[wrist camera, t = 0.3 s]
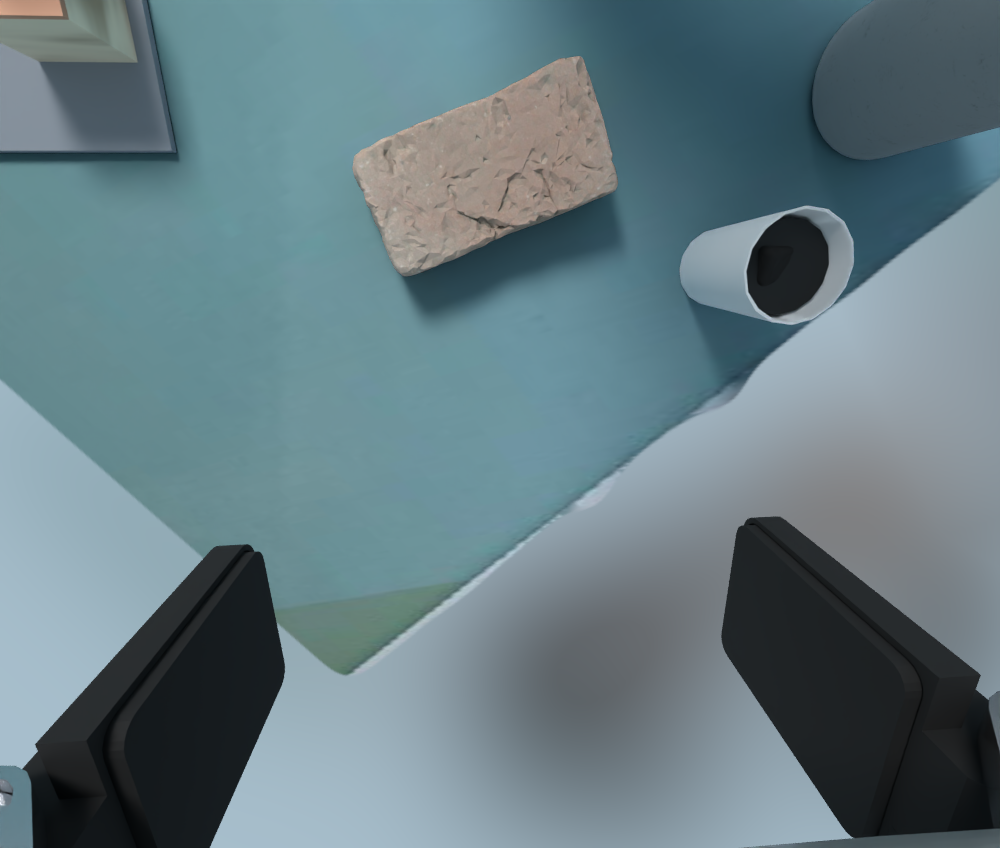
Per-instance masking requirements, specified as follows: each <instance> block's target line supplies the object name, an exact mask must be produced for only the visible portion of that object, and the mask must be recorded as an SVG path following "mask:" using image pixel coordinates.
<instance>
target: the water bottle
mask: <svg viewBox="0 0 1000 848" xmlns="http://www.w3.org/2000/svg"><path fill="white" fill-rule="evenodd" d="M812 106H813V114H814V118H815V121H816V124H817V128H818V130H819V131H820V133H821V135H822V137H823V138H824V140H825V141H826V142H827V143H828V144H829V145H830V146H831V147H832V148H833V149H834V150H836V151H837V152H839V153H840V154H842V155H844V156H847V157H850V158H853V159H861V160H874V159H880V158H885V157H888V156H892V155H896V154H900V153H904V152H907V151H911V150H915V149H919V148H922V147H926V146H930V145H934V144H938V143H941V142H945V141H949V140H953V139H956V138H960V137H964V136H968V135H972V134H975V133H979V132H983V131H987V130H990V129H994V128H998V127H1000V0H874V1H872V2H871V3H869V4H868V5H866V6H865V7H863V8H862V9H860V10H859V11H857V12H856V13H855V14H854V15H852V16H851V17H850V18H849V19H848V20H847V21H846V22H845V23H844V24H843V25H842V26H841V27H840V28H839V30H838V31H837V32H836V34H835V35H834V36H833V37H832V39H831V40H830V42H829V44H828V46H827V47H826V49H825V51H824V53H823V55H822V57H821V60H820V62H819V65H818V68H817V71H816V74H815V79H814V84H813V92H812Z"/></svg>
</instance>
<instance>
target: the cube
mask: <svg viewBox="0 0 1000 848" xmlns="http://www.w3.org/2000/svg"><path fill="white" fill-rule="evenodd" d="M0 43H1V44H4V45H6V46H8V47H10V48H12V49H14V50H16V51H18V52H20V53H22V54H24V55H26V56H28V57H30V58H33V59H35V60H37V61H39V62H123V63H138V61H137V56H136V51H135V46H134V42H133V37H132V32H131V27H130V22H129V18H128V13H127V8H126V3H125V0H0Z"/></svg>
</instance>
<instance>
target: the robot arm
mask: <svg viewBox="0 0 1000 848" xmlns="http://www.w3.org/2000/svg"><path fill="white" fill-rule="evenodd" d="M722 644H723V648H724V650H725V652H726V654H727V656H728V657H729V659H730V660H731V662H732V663H733V665H734V666H735V668H736V669H737V671H738V672H739V674H740V675H741V677H742V678H743V679H744V681H745V683H746V684H747V686H748V687H749V689H750V690H751V692H752V693H753V695H754V696H755V698H756V699H757V701H758V702H759V703H760V705H761V707H762V708H763V709H764V711H765V713H766V714H767V715H768V717H769V718H770V720H771V721H772V723H773V724H774V726H775V727H776V729H777V730H778V732H779V733H780V735H781V736H782V738H783V739H784V741H785V742H786V744H787V745H788V747H789V748H790V750H791V751H792V753H793V754H794V756H795V757H796V759H797V760H798V762H799V763H800V764H801V766H802V767H803V769H804V771H805V772H806V773H807V775H808V776H809V778H810V780H811V781H812V782H813V784H814V785H815V787H816V788H817V790H818V791H819V793H820V794H821V796H822V797H823V799H824V800H825V802H826V803H827V805H828V806H829V808H830V809H831V811H832V812H833V814H834V815H835V817H836V818H837V820H838V821H839V823H840V824H841V826H842V827H843V828H844V829H845V831H846V832H847V833H848V834H849V835H850V836H851V837H853V838H852V839H842V840H829V841H818V842H806V843H795V844H794V843H793V844H781V845H770V846H759V847H747V848H1000V691H998V692H996V693H995V694H994V695H992V696H991V697H990V698H989V700H988V699H986V698H985V697H984V696H982V694H980V693H979V692H978V691H977V690H976V687H977V684H978V681H979V678H980V676H981V675H980V674H979V673H978V672H976V671H975V670H974V669H973V668H971V667H970V666H969V665H967V664H966V663H965V662H964V661H963V660H961V659H960V658H959V657H957V656H956V655H955V654H954V653H952V652H951V651H950V650H949V649H947V648H946V647H945V646H943V645H942V644H941V643H940V642H938V641H937V640H936V639H935V638H933V637H932V636H931V635H930V634H928V633H927V632H926V631H925V630H923V629H922V628H921V627H919V626H918V625H917V624H916V623H914V622H913V621H912V620H911V619H909V618H908V617H907V616H906V615H904V614H903V613H902V612H901V611H899V610H898V609H897V608H895V607H894V606H893V605H892V604H890V603H889V602H888V601H887V600H885V599H884V598H883V597H881V596H880V595H879V594H878V593H877V592H875V591H874V590H873V589H872V588H870V587H869V586H868V585H866V584H865V583H864V582H863V581H862V580H860V579H859V578H858V577H856V576H855V575H854V574H853V573H851V572H850V571H849V570H848V569H846V568H845V567H844V566H842V565H841V564H840V563H839V562H838V561H836V560H835V559H834V558H832V557H831V556H830V555H829V554H827V553H826V552H825V551H824V550H822V549H821V548H820V547H818V546H817V545H816V544H815V543H814V542H812V541H811V540H810V539H808V538H807V537H806V536H804V535H803V534H802V533H801V532H799V531H798V530H797V529H796V528H795V527H793V526H792V525H791V524H789V523H788V522H787V521H786V520H784V519H783V518H781V517H758V518H749V519H747V520H746V522H745V524H744V526H740V527H739V528H738V530H737V533H736V540H735V547H734V554H733V560H732V567H731V574H730V580H729V587H728V594H727V601H726V607H725V614H724V621H723V627H722ZM284 673H285V664H284V658H283V653H282V648H281V643H280V638H279V633H278V628H277V623H276V618H275V613H274V608H273V603H272V598H271V593H270V588H269V583H268V578H267V573H266V568H265V563H264V559H263V555H262V554H261V553H260V552H254V550H253V548H252V547H251V546H250V545H248V544H246V545H227V546H216V547H214V548H213V549H212V550H211V551H210V552H209V553H208V554H207V555H206V556H205V558H204V559H203V560H202V561H201V562H200V563H199V564H198V565H197V566H196V567H195V569H194V570H193V571H192V572H191V573H190V574H189V575H188V576H187V578H186V579H185V580H184V581H183V582H182V583H181V584H180V585H179V587H177V588H176V590H175V591H174V592H173V593H172V594H171V595H170V596H169V597H168V598H167V599H166V601H165V602H164V603H163V604H162V605H161V606H160V607H159V608H158V609H157V610H156V612H155V613H154V614H153V615H152V616H151V617H150V618H149V619H148V620H147V622H146V623H145V624H144V625H143V626H142V627H141V628H140V629H139V630H138V631H137V633H136V634H135V635H134V636H133V637H132V638H131V639H130V640H129V642H128V643H127V644H126V645H125V646H124V647H123V648H122V649H121V650H120V651H119V652H118V654H117V655H116V656H115V657H114V658H113V659H112V660H111V661H110V662H109V663H108V665H107V666H106V667H105V668H104V669H103V670H102V671H101V672H100V673H99V675H98V676H97V677H96V678H95V679H94V680H93V681H92V682H91V684H90V685H89V686H88V687H87V688H86V689H85V690H84V691H83V692H82V693H81V694H80V695H79V697H78V698H77V699H76V700H75V701H74V702H73V703H72V704H71V705H70V706H69V708H68V709H67V710H66V711H65V712H64V713H63V714H62V716H60V718H59V719H58V720H57V721H56V722H55V723H54V724H53V725H52V726H51V727H50V728H49V730H48V731H47V732H46V733H45V734H44V735H43V736H42V737H41V739H40V740H39V741H38V742H37V743H36V744H35V745H36V748H37V750H38V752H37V753H36V754H35V755H34V756H33V758H32V759H31V760H30V761H29V762H28V763H27V764H26V765H25V767H24V768H23V769H20V768H19V767H16V766H0V848H210V846H211V843H212V841H213V839H214V836H215V834H216V832H217V830H218V828H219V825H220V823H221V821H222V819H223V816H224V814H225V812H226V809H227V807H228V805H229V803H230V801H231V798H232V796H233V794H234V792H235V789H236V787H237V785H238V782H239V780H240V778H241V776H242V774H243V771H244V769H245V767H246V764H247V762H248V760H249V758H250V756H251V753H252V751H253V749H254V747H255V744H256V742H257V740H258V738H259V735H260V733H261V731H262V728H263V726H264V724H265V722H266V719H267V717H268V715H269V713H270V710H271V708H272V706H273V703H274V701H275V699H276V697H277V694H278V692H279V690H280V688H281V686H282V683H283V679H284Z"/></svg>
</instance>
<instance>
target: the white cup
mask: <svg viewBox="0 0 1000 848" xmlns="http://www.w3.org/2000/svg"><path fill="white" fill-rule="evenodd" d="M853 265H854V247H853V239H852V237H851V235H850V233H849V230H848V228H847V226H846V224H845V222H844V221H843V220H842V219H840V218H839V217H838V216H836V215H835V214H834V213H833V212H831V211H830V210H829V209H825V208H819V207H813V206H803V207H799V208H795V209H791V210H787V211H783V212H779V213H775V214H771V215H767V216H764V217H760V218H756V219H752V220H748V221H744V222H740V223H736V224H732V225H728V226H724V227H720V228H716V229H713V230H709V231H705V232H703V233H702V234H701V235H699V236H698V237H697V238H695V239H694V240H693V241H691V243H690V245H689V246H688V248H687V249H686V251H685V252H684V254H683V256H682V261H681V265H680V269H679V271H680V279H681V285H682V287H683V288H684V290H685V292H686V293H687V295H688V296H689V297H690V298H692V299H693V300H695V301H696V302H698V303H699V304H704V305H707V306H711V307H715V308H719V309H723V310H727V311H731V312H735V313H738V314H742V315H746V316H750V317H754V318H758V319H762V320H766V321H769V322H774V323H782V324H789V325H793V324H797V323H801V322H804V321H808V320H812V319H814V318H815V317H817V316H818V315H819V314H821V313H822V312H824V311H825V310H827V309H828V308H829V307H831V306H832V305H833V303H834V302H835V301H836V299H837V298H838V297H839V295H840V294H841V293H842V291H843V290H844V289H845V287H846V286H847V283H848V280H849V277H850V274H851V271H852V268H853Z"/></svg>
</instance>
